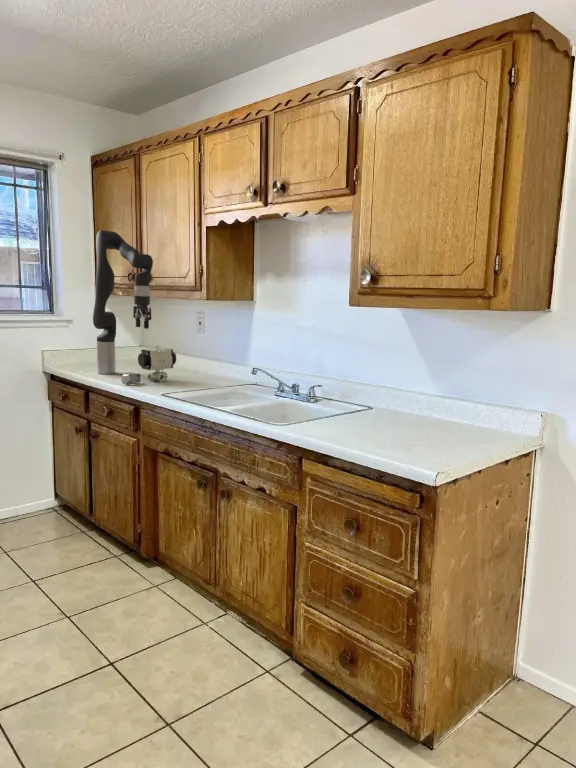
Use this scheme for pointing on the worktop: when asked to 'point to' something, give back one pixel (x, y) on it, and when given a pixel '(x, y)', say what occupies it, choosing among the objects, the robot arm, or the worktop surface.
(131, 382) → the coupling
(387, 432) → the worktop surface
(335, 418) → the worktop surface
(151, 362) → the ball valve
